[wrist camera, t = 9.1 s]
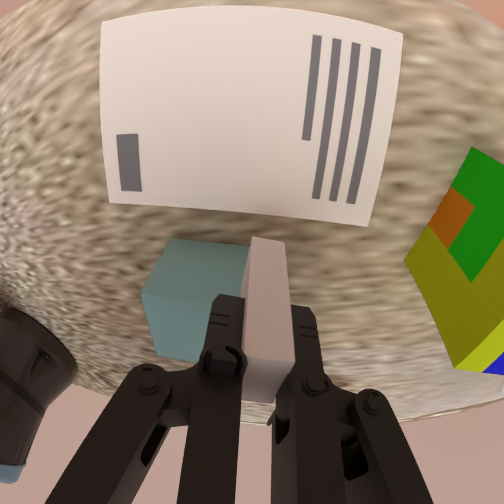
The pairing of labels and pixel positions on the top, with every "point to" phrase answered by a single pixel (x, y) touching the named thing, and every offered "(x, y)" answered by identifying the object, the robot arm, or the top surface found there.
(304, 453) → the robot arm
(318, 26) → the letter
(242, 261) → the teal cube
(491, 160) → the puzzle toy
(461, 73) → the top surface
